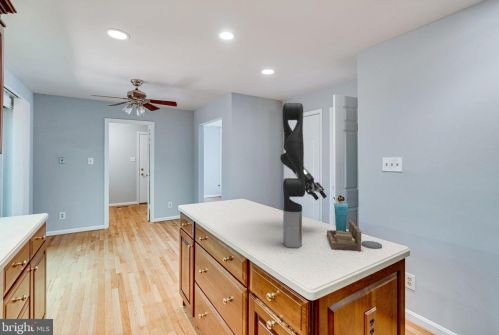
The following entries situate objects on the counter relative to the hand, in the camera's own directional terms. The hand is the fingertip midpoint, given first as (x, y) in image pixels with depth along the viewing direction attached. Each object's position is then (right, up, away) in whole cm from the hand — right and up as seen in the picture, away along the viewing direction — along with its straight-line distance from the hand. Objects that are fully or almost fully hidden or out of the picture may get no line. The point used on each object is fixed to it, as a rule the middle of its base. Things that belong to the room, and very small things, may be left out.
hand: (321, 198), depth 141 cm
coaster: (+20, -21, -17) cm, 34 cm away
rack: (+7, -21, -13) cm, 25 cm away
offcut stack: (+6, -21, -17) cm, 28 cm away
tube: (+8, -21, -7) cm, 24 cm away
